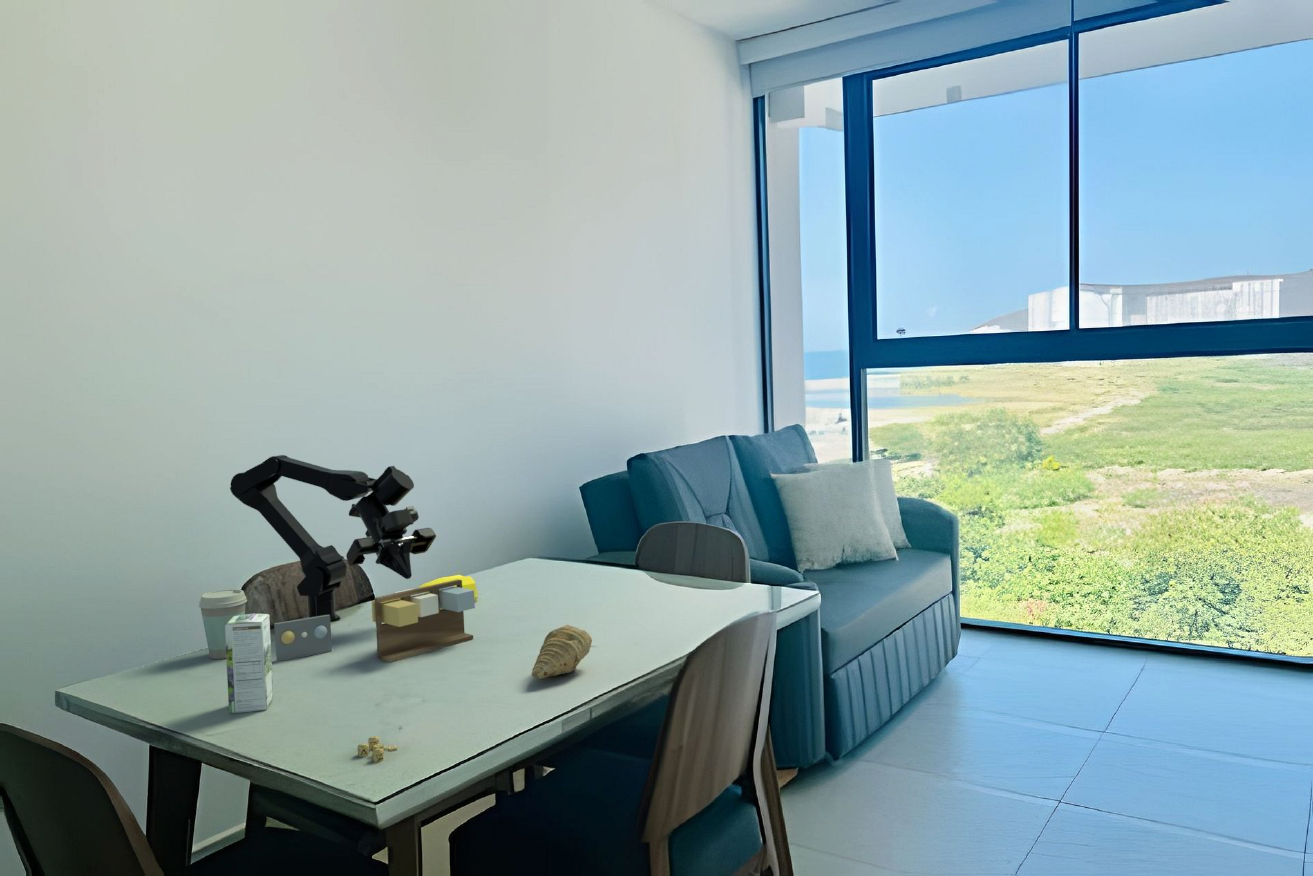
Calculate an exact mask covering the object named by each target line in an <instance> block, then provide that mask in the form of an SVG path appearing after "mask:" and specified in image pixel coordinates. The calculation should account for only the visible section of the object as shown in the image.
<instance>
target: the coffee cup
mask: <svg viewBox="0 0 1313 876" xmlns="http://www.w3.org/2000/svg"><path fill="white" fill-rule="evenodd" d="M247 602H248V599H247V596H246V594H245V592H244V590H242V589H237V588H231V589H230V588H229V589H220V590H214V591H209V592H206V593H203V594H202V595H201V597H200V600H199V602H198V604H199V605H198V607H199V608H200V611H201V616H202V622H203V628H204V632H205V636H206V643H207V649H208V653H209V657H210V658H211V659H213V660H215V659H216V660H224V658H225V659H226V637H225V625H226V624H227V623H228V622H229V621H230V620H231V619H232V618H233V617H234V616H238V615H245V614H246V604H247Z"/></svg>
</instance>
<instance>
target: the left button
mask: <svg viewBox="0 0 1313 876" xmlns="http://www.w3.org/2000/svg"><path fill="white" fill-rule="evenodd" d="M371 616H372V619H371V620H372V622H374V623H376V617H375V599H374V600H371ZM381 618H382V624H384V623H386V624H390V625H394V626H398V627H401V626H405V625H409V624H413V623H417V622H418V611H417V603H412V602H408V601H403V600H399V599H394V600H389V601H385V602H381Z"/></svg>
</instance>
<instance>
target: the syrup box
mask: <svg viewBox="0 0 1313 876" xmlns="http://www.w3.org/2000/svg"><path fill="white" fill-rule="evenodd" d="M270 625H271V622H270V614H268V613H248V614H247V613H245V615H238V616H234V617H233V618H232V619H231V620H230V621H229V622H228V623H227V624H226V625H225V637H226V658H225V659H226V677H227V678H226V680H227V695H228V697H227V698H228V712H229V713H230V714H241V713H248V712H249V713H250V712H251V713H252V712H257V711H266V710H267V709H268V708H269V706H270V704H271V703H272V701H273V699H274V688H273V686H274V685H273V682H274V681H273V665H272V660H273V659H272V646H271V645H272V642H271V626H270Z"/></svg>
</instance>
